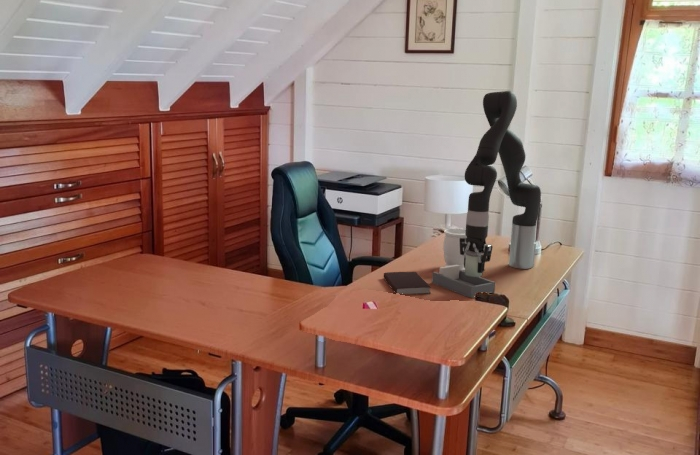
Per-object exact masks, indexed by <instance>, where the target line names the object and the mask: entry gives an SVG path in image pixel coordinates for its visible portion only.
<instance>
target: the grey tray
mask: <svg viewBox="0 0 700 455" xmlns="http://www.w3.org/2000/svg"><path fill="white" fill-rule="evenodd" d="M431 278H432V279H431V281H432V282H431V283H432V284H434V285H437V286H439V287H441V288H444V289H447V290H449V291H451V292H454V293H457V294H460V295H462V296H464V297H467V298H469V299H474V298H475V297H474V296H475V293H477V292H487V293H493V294H495V288H496V282H495V281H493V280H490V279H488V278H485V277H482V276H479V277H472V276H467V275H465V270H463V271H462V270H459V279H453V278H450V277H447V276H445V275H442V274H439V272H436V271H433V272H432V277H431Z"/></svg>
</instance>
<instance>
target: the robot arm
mask: <svg viewBox="0 0 700 455" xmlns="http://www.w3.org/2000/svg"><path fill="white" fill-rule="evenodd" d="M517 101H518V100H517V96H516V94H515V93H514V91H510V90H505V91H494V92H493V91H492V92H488V93H485V94H484V96H483V98H482V108H483V112H484V115H485V117H486V120H487V122H488V125H489V127H490V128H489V129H488V130H487V131H486V132H485V133H484V134H483V136H482V137H481V139H480V141H479V143H478V147H477V150H476V153H475V155H474V157H473V158H472V159H471V161H470V162H469V164H468V165H467V167H466V169H465V172H464V180H465V182H466V184H468V185H469V186H477V187H483V190H481V191H475V192H471V193H470V194H469V195H468V202H467V204H468V205H467V213H466V219H465V230H466V232H465V235H466V236H467V238H466V237H464V238H460V254H461V255H463V257H464V268H465V260H466V250H467V251H469V250H470V251H473V252H475V253H476V254H477V256H478V261H479V262H478V271H477V272H478V273H482V274H483V273H484V272H485V266H486V265H485V264H486V263H488V262H490V261H491V257H492V252H493V245H492V244H490V245H489V244H487V241H486V239H487V237H488V235H489V234H488V232H489V223H490V222H489V221H490V219H489V218H490V215H489V213H490V212H489V211H490V199H491V195H492V191H493V189H494V186H495V184H496V181H497V177H498V172H497V169H496V168H495V166H491V165H494V164H495V163H496V161H497V157H498V156H499V158H500V162H501V164H502V166H503V167H502V168H503V171H504V175H505V180H506V183H507V184H506V185H507V189H508V196H509V199H510V201H511V203H512V204H513V205H514V206H517V207H521V208H522V207H523V208H524V212H523V213H520V214H516V215H514V216H512V222H511V235H510V246H509V247H510V248H509V255H508V256H509V259H508V266H509V267H511V268H514V269H521V270H525V269H526V270H527V269H531V268H533V267H534V266H535V258H536V248H537V243H536V241H535V240H536V232H537V230H536V228H537V222H538V221H537V220H538V218H539V211H540V206H541V198H542V190H541V188H540V186H538V185H536V184H532V183H526V182H525V183H523V182H522V179H521V176H520V172H521V171H522V168H523V166H524V164H525V161H526V156H527V155H526V152H525V148H524V144H523V142H522V140H521V138H520V137H519V136H518V135H517V134H516V133H515V132H514V131H512V129H510V128H509V127H510V125H511V123H512V121H513V119H514V117H515V114H516V111H517V108H518V102H517ZM463 248H464V251H463ZM479 252H482V253H479ZM481 255H482V259H481Z"/></svg>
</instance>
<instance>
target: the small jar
mask: <svg viewBox="0 0 700 455" xmlns="http://www.w3.org/2000/svg"><path fill="white" fill-rule="evenodd" d="M479 253H482V252H479ZM481 259H482V255H481ZM478 262H479V261H478V256H477V254H476V253H475V252H473V251H470V250H469V251H467V250H466V260H465V270H464V271H465V275H467V276H472V277H482V276H483V273H478V272H477V271H478Z"/></svg>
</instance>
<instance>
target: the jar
mask: <svg viewBox="0 0 700 455" xmlns="http://www.w3.org/2000/svg"><path fill="white" fill-rule="evenodd" d="M443 232H444V238H443V246H442V247H443V248H442V250H443V251H442V252H443V259H444V262H445V265H444V267H445V266H451V265H460V270H462V271H465V268H464V257H463V255H461V254H460V238H464V237H466V238H467V236H466V235H465V232H466V229H463V228H447V229H444V231H443ZM463 251H464V248H463Z"/></svg>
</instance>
